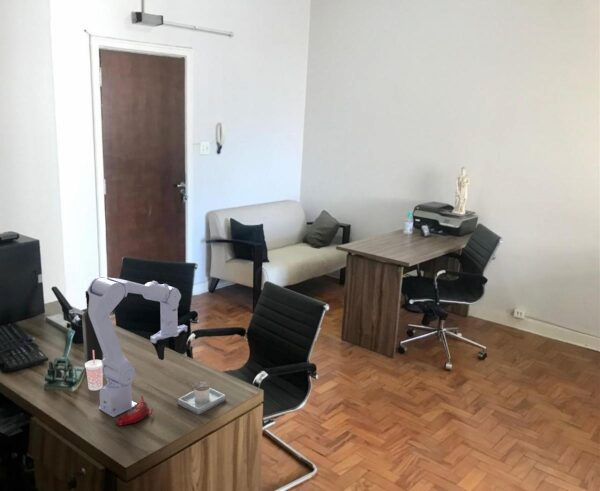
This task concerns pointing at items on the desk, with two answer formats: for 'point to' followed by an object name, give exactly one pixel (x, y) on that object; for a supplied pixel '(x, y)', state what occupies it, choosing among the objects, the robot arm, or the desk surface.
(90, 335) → the wine bottle
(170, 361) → the desk surface
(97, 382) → the beverage cup
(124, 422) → the decorative bird figurine
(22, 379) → the desk surface
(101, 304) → the robot arm
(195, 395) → the espresso cup
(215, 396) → the tray
